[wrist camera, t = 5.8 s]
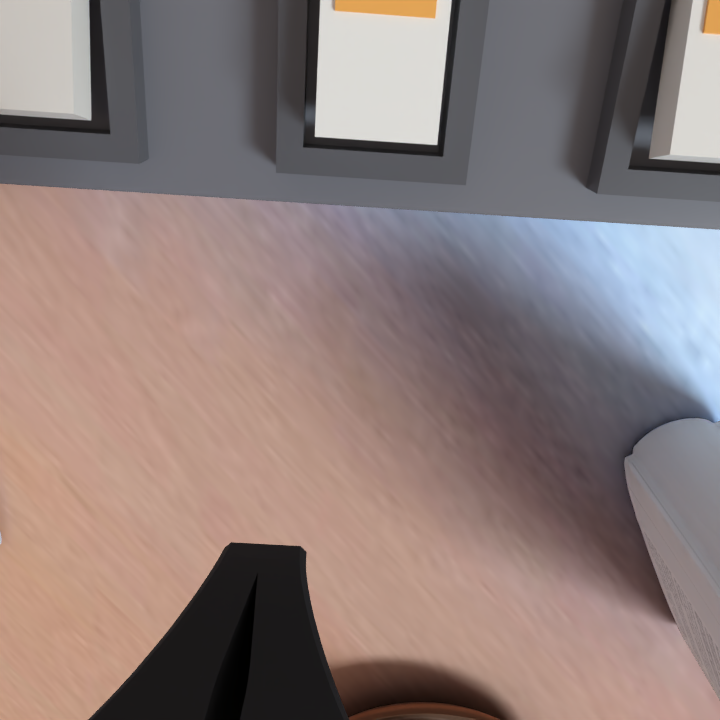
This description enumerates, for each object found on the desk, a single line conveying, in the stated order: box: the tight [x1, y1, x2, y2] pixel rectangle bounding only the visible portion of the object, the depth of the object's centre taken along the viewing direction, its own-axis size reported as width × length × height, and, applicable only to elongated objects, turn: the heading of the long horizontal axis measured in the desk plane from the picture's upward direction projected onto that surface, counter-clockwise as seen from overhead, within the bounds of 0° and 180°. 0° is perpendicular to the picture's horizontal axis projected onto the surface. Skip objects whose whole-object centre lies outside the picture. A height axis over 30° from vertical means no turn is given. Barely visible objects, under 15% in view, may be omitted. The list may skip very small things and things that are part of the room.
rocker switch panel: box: [0, 0, 720, 230], centre depth 16 cm, size 32×7×4 cm, turn 86°
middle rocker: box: [315, 0, 452, 145], centre depth 14 cm, size 3×4×1 cm
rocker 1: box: [0, 0, 91, 121], centre depth 14 cm, size 3×4×1 cm
